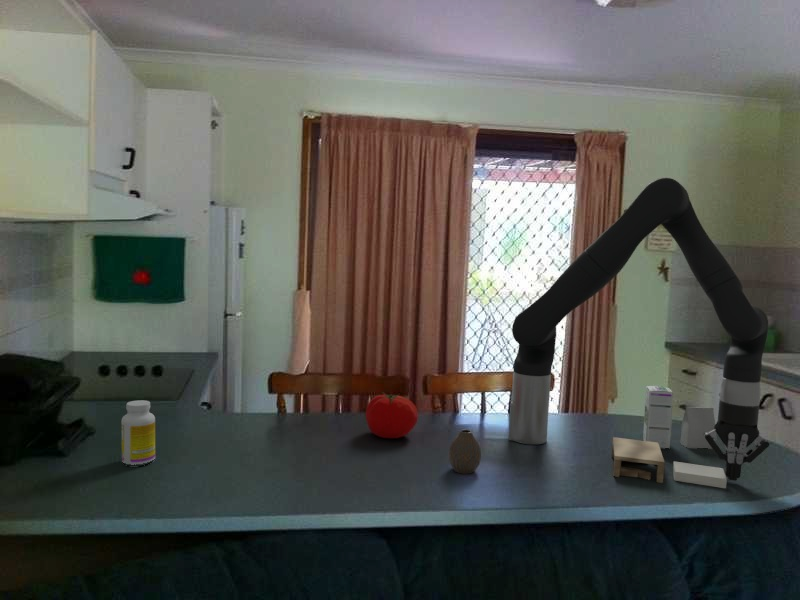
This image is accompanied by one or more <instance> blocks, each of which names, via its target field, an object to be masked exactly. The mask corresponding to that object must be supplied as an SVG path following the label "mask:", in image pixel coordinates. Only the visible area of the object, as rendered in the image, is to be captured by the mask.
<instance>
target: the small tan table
mask: <svg viewBox="0 0 800 600" xmlns="http://www.w3.org/2000/svg"><path fill="white" fill-rule="evenodd" d="M611 445H612V446H611V458H613V472H612V476H613V477H614V476H615V478H620V476H624V477H631V478H640V479H644V480H647V479H648V481H650V480H651V477H652V472H651V471H649V470H643V469H641V468H640V469H639V468H634V467H627V466H622V462H625V461H626V462H627V463H633V464H634V463H636V464H637V463H640V464H641V463H642V464H648V465H656V466H657V467H656V483H660V484H663V483H664V472H665V459H664V457H663V454H662V450H661V448H660V447H659V444H658V442H649V441H643V440H639V439H632V438H631V439H630V438H624V437H615V436H612V443H611Z"/></svg>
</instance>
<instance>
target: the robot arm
mask: <svg viewBox="0 0 800 600" xmlns="http://www.w3.org/2000/svg"><path fill="white" fill-rule="evenodd" d="M689 196H690V195H689V192H688V190H687V189H686V188H685V187H684V186H683V185H682V184H681V183H680V182H679V181H678V180H676V179H674V178H671V177H661V178H657V179H654V180H653V181H651V182H649V183H648V184H647V185H646V186H645V187H644V188H643V190H641V192H640V193H639V194H638V195H637V196H636V197H635V199H634V200H633V202H632V203H631V204H630V205H629V206H628V207H627V208H626V210H625V211H624V212H623V213H622V215H621V216H619V218H618V219H616V221H615V222H614V223H612V224H611V225H609V227H608V228H607V229H606V230H604V231H603V232H602V233H601V234H600V235H599V236H598V237H597V238H596V239H595V240H594V241H593V242H592V243H591V244H590V245H588V246H587V248H585V249H584V250H583V251H582V252H581V253H580V254H579V255H578V256H577V257H576V258H575V259H574V260H573V262H572V263H571V264H570V265H569V266H568V267H567V268H566V269H565V270H564V271H563V273H561V274H560V276H559V277H558V278H557V279H556V280H555V281H554V283H552V285H551V286H550V288H549V289H547V290H546V292H545V293H543V294H542V295H541V296H540V297H539V298H537V300H535V301H533V302H532V304H530V305H529V306H528V307H526V308H525V309H523V310H522V311H521V312H520V313H519V314H517V316H516V317H515V318H514V321H513V323H512V326H511V328H512V329H511V332H512V337H513V339H514V340H515V342H516V343H518V351H517V354H516V357H515V359H514V361H513V370H512V371H513V372H512V391H511V402H510V406H509V421H508V424H509V425H508V438H507V440H508V441H513V442H516V443H519V444H524V445H525V444H526V445H542V444H545V443H546V442H547V439H548V426H549V423H548V422H549V410H550V395H551V379H552V378H551V377H552V375H551V373H552V367H553V362H554V359H555V351H556V349H555V348H556V340H557V339H556V338H557V327H558V325H559V324H560V323H561V321H563V320H564V319H565V317H566V316H568V314H570V313H571V312H572V311H574V309H576V308H578V307H580V306H581V305H582V304H584V303H585V302H586V301H588V300H589V299H591V298H592V297H593V296H594V295H596V294H597V293H598V292H599V291H601V290H602V289H603V288H605V287H606V286H607V285H608V284H609V283H610V282H611V281H612V280H613V279H614V278H615V277H616V276H618V274H619V273H620V272H621V271H622V269H624V267H625V266H626V264H627V263H628V262H629V260H630V258H631V257H632V255H633V253H634V252H635V250H637V248H638V246H639V245H640V244H641V243H642V241H643V240H645V238H646V237H648V235H650V234H651V233H652V232H653V231H654V230H656V229H657V228H658V227H659V226H663V228H664V229H665V230H666V231H667V232H668V233H669V235H671V237H672V238H673V239H674V241H675V243H676V244H677V246H678V247H679V249H680V250H681V252H682V254H683V256H684V259H685V260H686V262H687V264H688V267H689V269H690V270H691V272H692V274H693V275H694V278H695V279H696V281H697V283H698V284H699V286H701V288H702V290H703V292H704V294H706V296H707V298H708V299H709V300H710V301H711V304H712V307H713V310H714V311H715V313H716V315H717V318H718V321H720V323H721V326H722V328H723V329H724V330H725V332H726V333H727V335H729V336H730V343H729V349H728V350H727V352H726V354H725V357H724V361H723V371H722V380H721V384H720V392H719V394H718V395H719V401H718V402H719V403H718V411H717V412H718V413H717V421H716V422H715V426H714V429H713V430H712V431H710V432H704V434H703V435H704V437H705V439H706V440H707V442H708V443H709V444H710V446H711V447H712V449H711V450H713V451H714V453H715V454H716V455H717V457H718V458H719V460H723V461H724V462H725V463H724V473H725V476H726V478H727V479H728V481H737V480H738V479H740V478H741V473H742V465H743V464H744V463H748V464H750V463H752V462H753V461H754V460H755V459H756V458H757V457H759V456H760V455H761V454H762V453H763V452H764V451H765V450H766V449H767V448H769V447H770V442H769V441H768V440H767V439H766V438H764V437H762V436H761V435H760V430H759V428H758V424H759V423H758V422H759V413H760V401H761V376H762V368H763V367H762V365H763V364H762V363H763V362H762V360H763V355H764V351H765V347H766V343H767V339H768V338H767V337H768V334H769V333H768V332H769V319H768V318H769V317H768V316H767V314H766V313H765V311H764V310H762V309H761V308H760V307H758V306H755V305H752V304H751V303H750V301H749V300H748V298H747V297H746V295H745V293H744V292H743V289H744V287H743V284H742V282H741V280H740V279H739V277H738V276H737V274H736V273H735V271H734V270H733V268H732V266H731V265H730V264H729V263H728V261H727V259H726V258H725V256H724V255H723V254H722V253H721V251H720V250H719V249H718V247H717V246H716V245H715V243H714V242H713V241H712V239H711V238H710V236H709V235H708V234H707V232H706V231H705V229H704V227H703V225H702V224H701V222H700V220H699V218H698V215H697V213H696V211H695V209H694V206H693V205H692V202H691V200H690V197H689ZM717 435H718V437H719V439H720V441H721V442H722V443H723V444H724V449H725V450H724V451H725V452H723V451H722V449H721V448H720V447H719V445H718V444H717V440H718V437H717ZM753 443H754V445H753V446H751V448H750V449H748V450H747V448H748V447H749V446H750V445H752V444H753ZM746 450H747V451H746Z"/></svg>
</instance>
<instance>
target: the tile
mask: <svg viewBox="0 0 800 600" xmlns="http://www.w3.org/2000/svg"><path fill="white" fill-rule="evenodd" d="M672 463H673V464H672V472H673V473H672V474H673V480H674V481H675V482H682V483H689V484H695V485H702V486H708V487H716V488H721V489H727V481H728V480H727V479H728V477H726V475H725V469H724V468H721V467H717V466H709V465H701V464H693V463H689V462H688V463H687V462H682V461H681V462H679V461H675V460H674V461H673V462H672Z"/></svg>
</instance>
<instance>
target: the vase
mask: <svg viewBox="0 0 800 600" xmlns="http://www.w3.org/2000/svg"><path fill="white" fill-rule="evenodd" d="M448 459H449V464H450V467H452V469H453V470H454V471H455V472H456V473H458V474H463V475H464V474H465V475H466V474H472V473H474V472H475V471H476V470H477V469H478V467H479V466H480V462H481V459H482V451H481V447H480V444H479V442H478V441H477V438H475V436H474V435H473V432H472V430H469V429H462V430H460V431H459V433H458V434H457V436H456V437H455V438H454V439H453V441H452V442H451V444H450V446H449V449H448Z"/></svg>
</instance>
